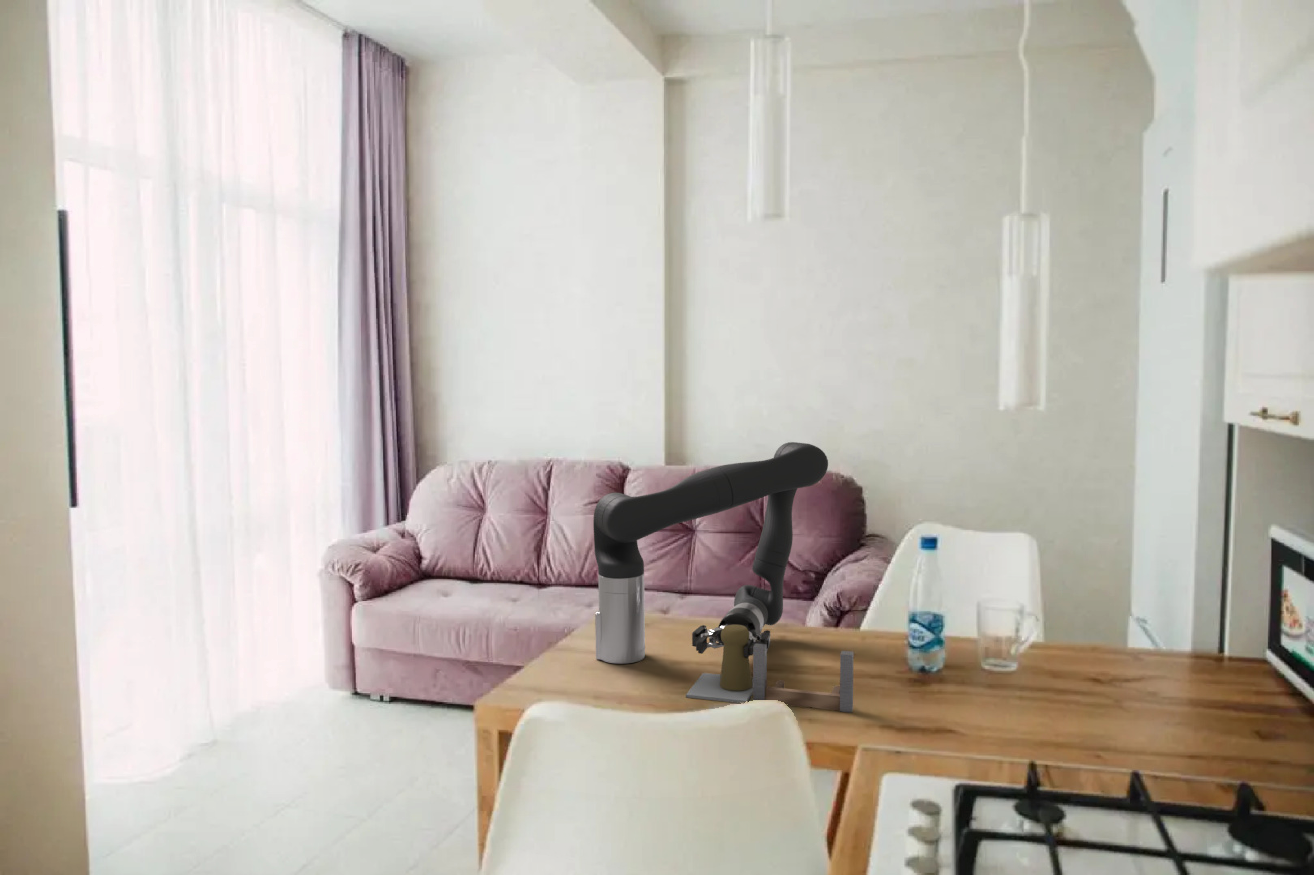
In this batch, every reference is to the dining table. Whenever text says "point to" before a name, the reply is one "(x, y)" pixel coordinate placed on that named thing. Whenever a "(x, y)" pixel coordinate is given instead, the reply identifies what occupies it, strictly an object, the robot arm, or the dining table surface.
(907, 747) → the dining table surface
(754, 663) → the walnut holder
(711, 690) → the grey rubber mat
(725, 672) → the cork
